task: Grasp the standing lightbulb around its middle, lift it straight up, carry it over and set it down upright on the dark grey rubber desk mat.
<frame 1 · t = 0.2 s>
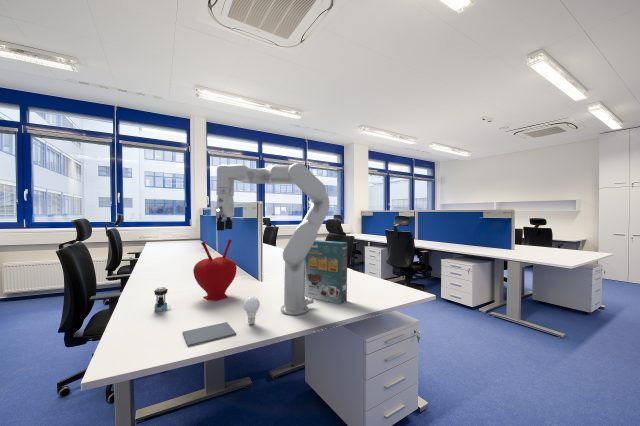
hand: (224, 229, 123), 37 cm above the table, tool pointing down, fingers open, 9 cm apart
desk mat: (209, 334, 98), on the table
cake mix box: (325, 299, 141), on the table
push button: (162, 310, 122), on the table
lightbulb: (251, 324, 107), on the table
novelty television: (216, 297, 141), on the table
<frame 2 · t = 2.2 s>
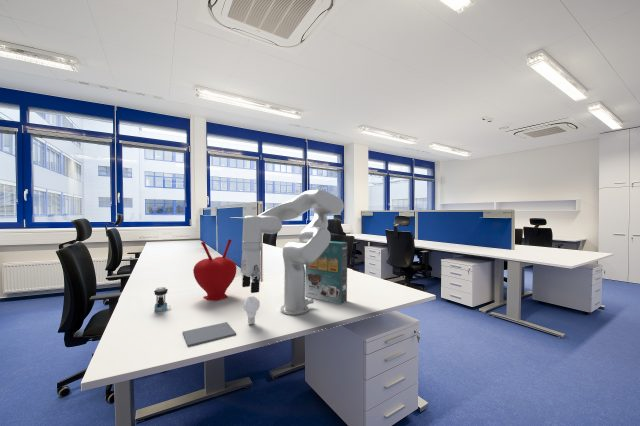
hand: (250, 289, 107), 14 cm above the table, tool pointing down, fingers open, 9 cm apart
nothing on the table moved.
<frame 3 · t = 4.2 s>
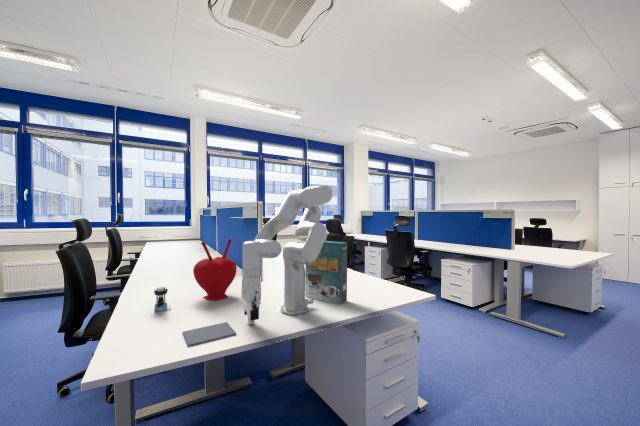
hand: (251, 316, 107), 3 cm above the table, tool pointing down, fingers closed on lightbulb, 6 cm apart
lightbulb: (251, 324, 107), on the table, touching gripper
everything else where it was.
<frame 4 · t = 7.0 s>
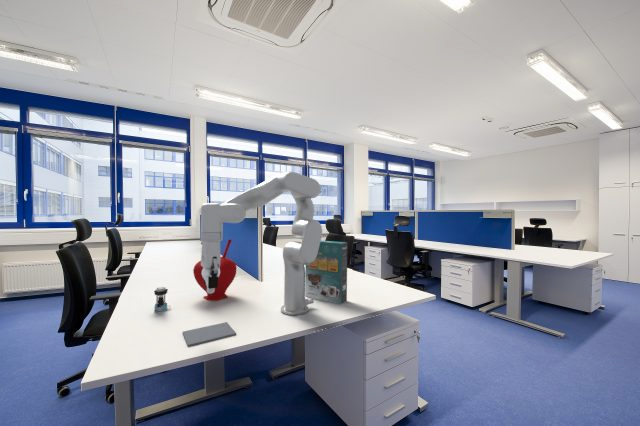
hand: (210, 285, 98), 18 cm above the table, tool pointing down, fingers closed on lightbulb, 6 cm apart
lightbulb: (210, 294, 98), point 15 cm above the table, touching gripper
everything else where it was.
when the fingers open (5 cm above the table, at t = 10.3 s): lightbulb drops 1 cm, resting on desk mat.
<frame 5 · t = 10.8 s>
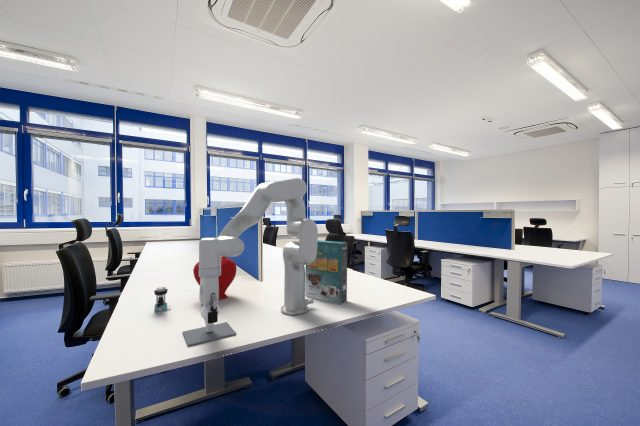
hand: (209, 318, 98), 6 cm above the table, tool pointing down, fingers open, 9 cm apart
lightbulb: (209, 332, 99), resting on desk mat
everything else where it was.
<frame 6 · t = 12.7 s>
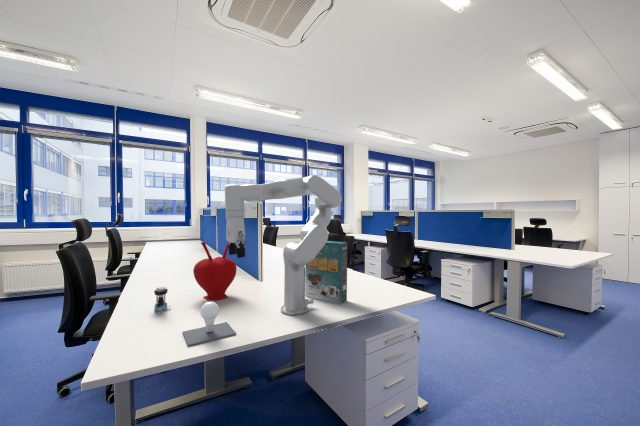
hand: (236, 255, 111), 27 cm above the table, tool pointing down, fingers open, 9 cm apart
nothing on the table moved.
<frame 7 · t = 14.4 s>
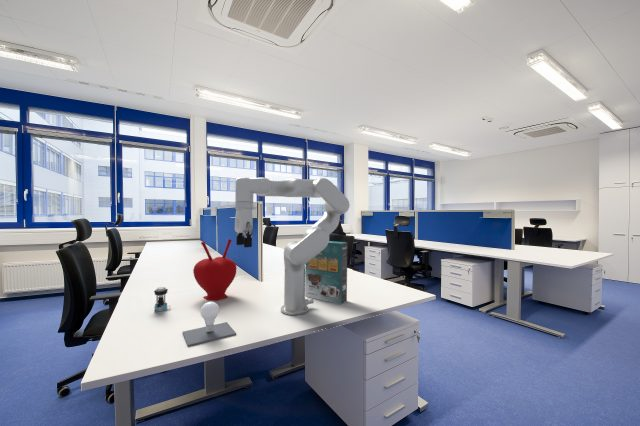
hand: (243, 245, 116), 30 cm above the table, tool pointing down, fingers open, 9 cm apart
nothing on the table moved.
at the end: lightbulb inside the target area on the desk mat (0.4 cm from its centre), point 0.4 cm above the desk mat's base; lightbulb tilted 0°; the gripper is holding nothing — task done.
